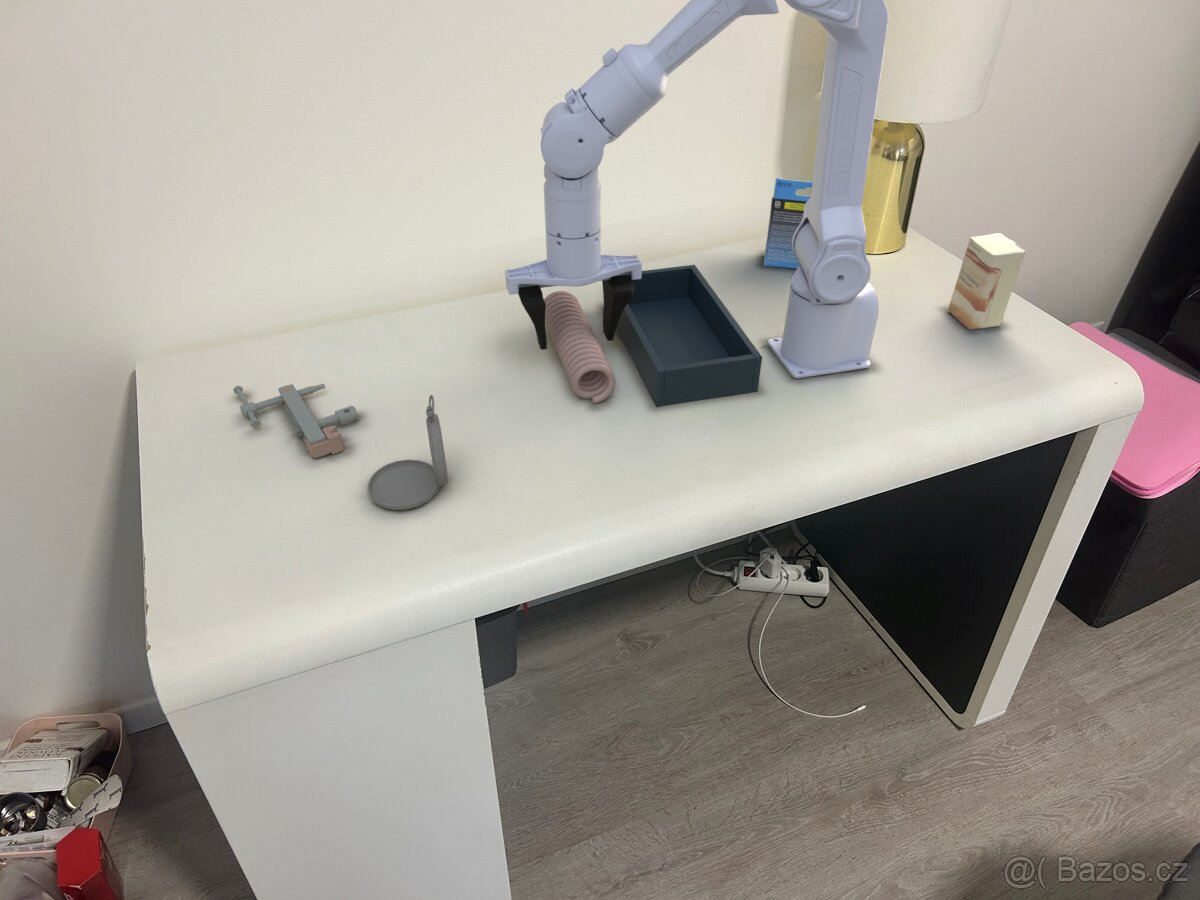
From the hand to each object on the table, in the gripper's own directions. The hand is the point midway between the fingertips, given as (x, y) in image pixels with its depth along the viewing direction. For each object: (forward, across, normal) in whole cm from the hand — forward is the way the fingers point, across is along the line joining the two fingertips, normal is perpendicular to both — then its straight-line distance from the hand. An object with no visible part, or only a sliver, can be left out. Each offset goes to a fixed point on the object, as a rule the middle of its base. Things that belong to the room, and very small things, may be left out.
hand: (575, 340), depth 96 cm
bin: (+3, -12, 0) cm, 12 cm away
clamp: (+3, +30, +4) cm, 31 cm away
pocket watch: (+3, +19, +18) cm, 27 cm away
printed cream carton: (+3, -50, +3) cm, 50 cm away
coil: (+3, 0, 0) cm, 3 cm away
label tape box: (+3, -35, -16) cm, 38 cm away
